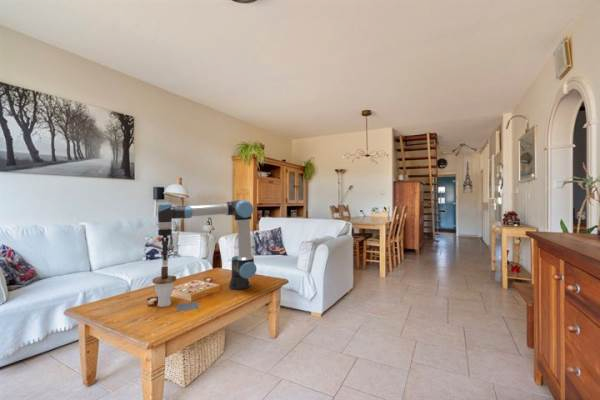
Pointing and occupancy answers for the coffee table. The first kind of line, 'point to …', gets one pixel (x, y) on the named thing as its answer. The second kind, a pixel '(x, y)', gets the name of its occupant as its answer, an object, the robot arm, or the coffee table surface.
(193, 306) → the mat
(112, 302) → the coffee table surface
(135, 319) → the coffee table surface
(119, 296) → the coffee table surface
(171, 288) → the cup
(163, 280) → the lid
